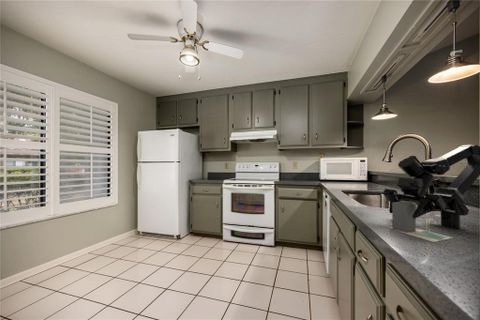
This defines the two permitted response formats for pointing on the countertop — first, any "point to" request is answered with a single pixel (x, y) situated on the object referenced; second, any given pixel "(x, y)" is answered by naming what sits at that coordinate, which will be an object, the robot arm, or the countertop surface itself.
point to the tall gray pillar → (403, 216)
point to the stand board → (425, 234)
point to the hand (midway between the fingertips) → (401, 215)
